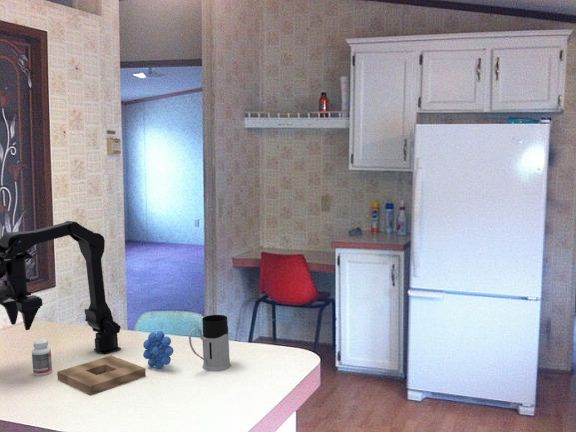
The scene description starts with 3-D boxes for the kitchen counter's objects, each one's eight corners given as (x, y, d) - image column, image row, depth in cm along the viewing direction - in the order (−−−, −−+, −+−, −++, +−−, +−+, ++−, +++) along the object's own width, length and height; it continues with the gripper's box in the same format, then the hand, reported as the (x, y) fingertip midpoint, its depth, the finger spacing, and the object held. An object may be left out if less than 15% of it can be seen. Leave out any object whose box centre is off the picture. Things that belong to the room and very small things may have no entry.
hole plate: (111, 363, 205) (111, 355, 204) (145, 376, 192) (145, 368, 192) (57, 379, 191) (57, 371, 191) (90, 395, 179) (90, 386, 179)
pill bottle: (54, 373, 197) (51, 342, 196) (35, 377, 194) (33, 345, 193) (49, 368, 201) (47, 337, 200) (31, 372, 198) (28, 341, 197)
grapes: (183, 367, 199) (181, 329, 197) (168, 375, 193) (166, 335, 191) (154, 361, 205) (152, 324, 203) (139, 368, 199) (136, 330, 198)
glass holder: (237, 365, 199) (235, 317, 198) (200, 379, 189) (198, 328, 187) (218, 359, 205) (216, 312, 204) (181, 372, 195) (179, 323, 193)
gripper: (-25, 276, 193) (-21, 327, 195) (2, 284, 180) (7, 339, 182) (12, 269, 201) (16, 319, 203) (41, 277, 189) (45, 330, 190)
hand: (20, 327), depth 195 cm, fingers open, 9 cm apart
